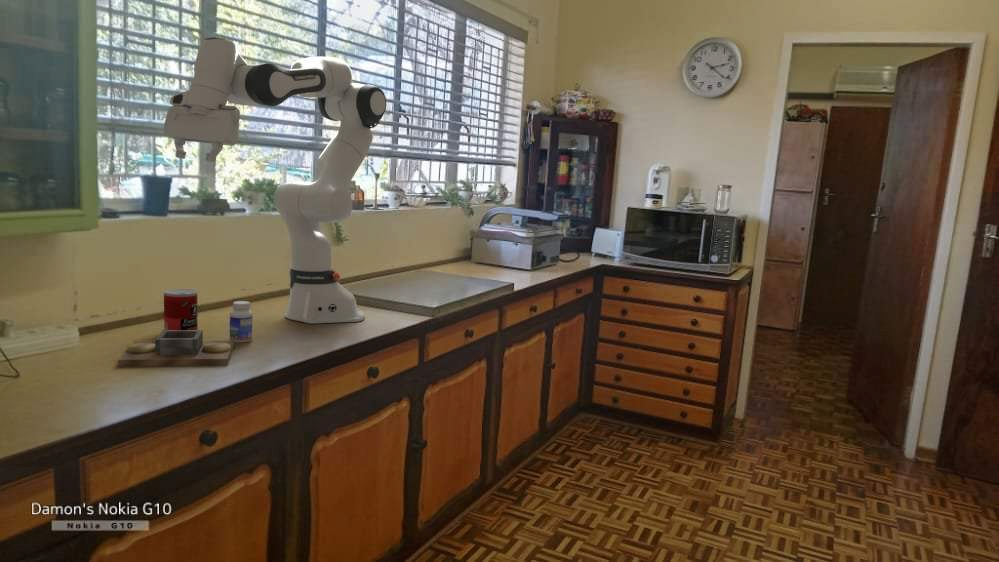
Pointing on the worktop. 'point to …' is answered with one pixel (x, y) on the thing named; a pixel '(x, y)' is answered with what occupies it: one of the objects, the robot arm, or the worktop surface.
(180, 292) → the canned food
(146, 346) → the board
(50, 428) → the worktop surface
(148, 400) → the worktop surface
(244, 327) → the pill bottle
